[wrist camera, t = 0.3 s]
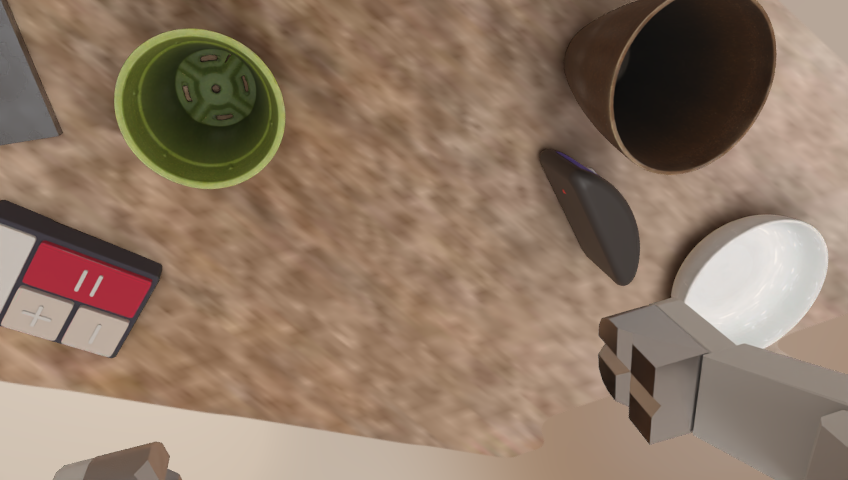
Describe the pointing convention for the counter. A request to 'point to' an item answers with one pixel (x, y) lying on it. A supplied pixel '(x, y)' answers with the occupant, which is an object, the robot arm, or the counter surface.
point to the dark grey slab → (595, 215)
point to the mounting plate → (21, 89)
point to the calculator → (69, 283)
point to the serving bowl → (754, 277)
